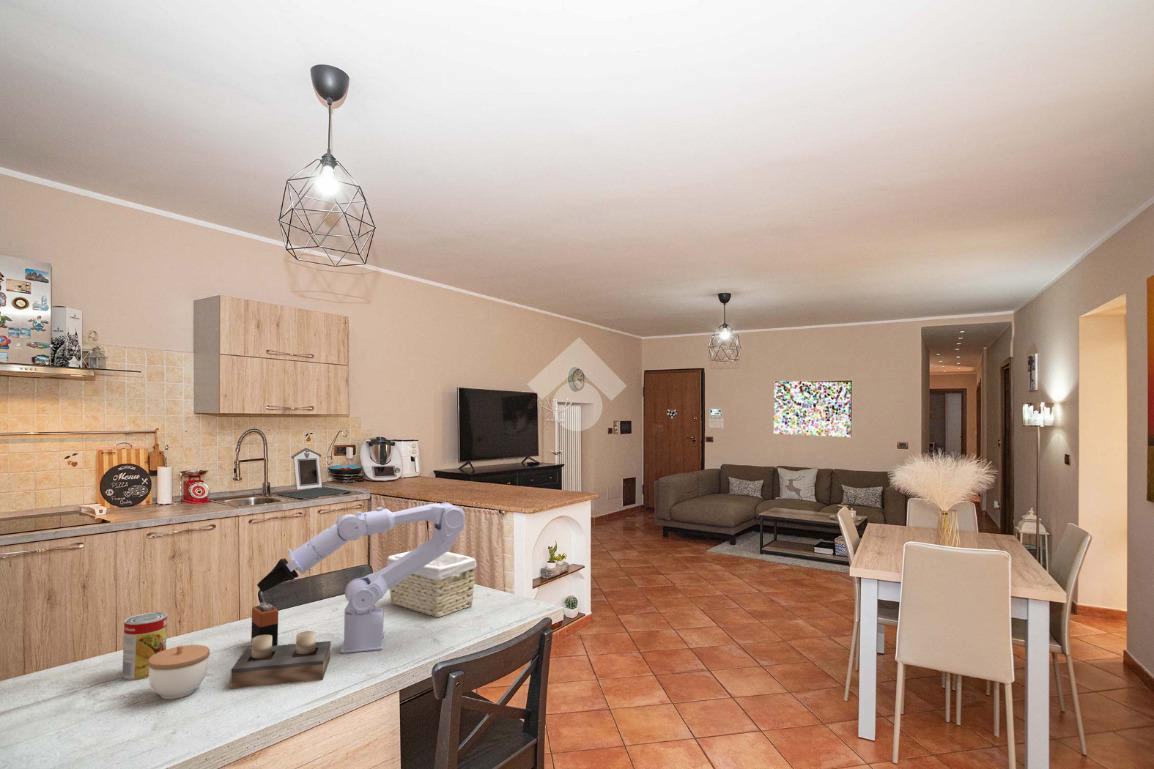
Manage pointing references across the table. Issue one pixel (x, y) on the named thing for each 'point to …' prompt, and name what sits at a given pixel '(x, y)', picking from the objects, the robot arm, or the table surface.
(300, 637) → the inner peg
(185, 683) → the lidded jar
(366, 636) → the robot arm
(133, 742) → the table surface
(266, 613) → the battery
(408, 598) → the storage basket
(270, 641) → the outer peg
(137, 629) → the canned food
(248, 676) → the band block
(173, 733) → the table surface
